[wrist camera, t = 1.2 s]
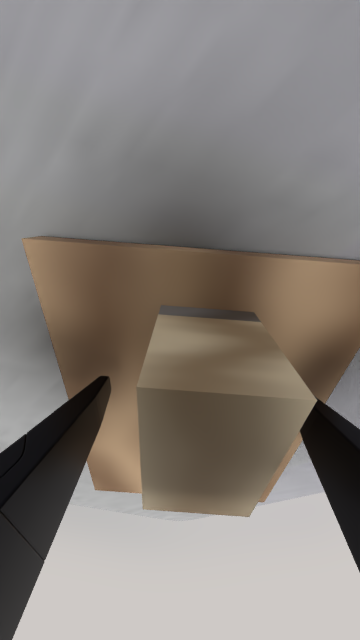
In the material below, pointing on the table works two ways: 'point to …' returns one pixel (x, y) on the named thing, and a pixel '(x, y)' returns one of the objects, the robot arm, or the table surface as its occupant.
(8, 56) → the table surface
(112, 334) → the light brown wooden board
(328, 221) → the table surface
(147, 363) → the block
